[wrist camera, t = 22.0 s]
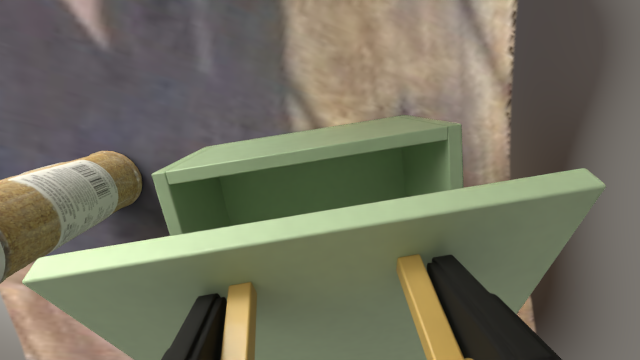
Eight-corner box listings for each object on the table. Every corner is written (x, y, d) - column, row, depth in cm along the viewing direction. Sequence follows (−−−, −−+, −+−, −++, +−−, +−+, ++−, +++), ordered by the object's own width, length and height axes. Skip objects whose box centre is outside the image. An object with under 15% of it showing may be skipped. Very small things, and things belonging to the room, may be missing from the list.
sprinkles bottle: (71, 161, 23) (-226, 240, 10) (128, 141, 23) (-99, 197, 10) (101, 215, 24) (-130, 349, 11) (155, 197, 24) (-16, 312, 11)
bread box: (205, 146, 23) (150, 173, 15) (404, 114, 24) (461, 123, 15) (245, 307, 27) (220, 401, 19) (418, 278, 27) (469, 358, 19)
